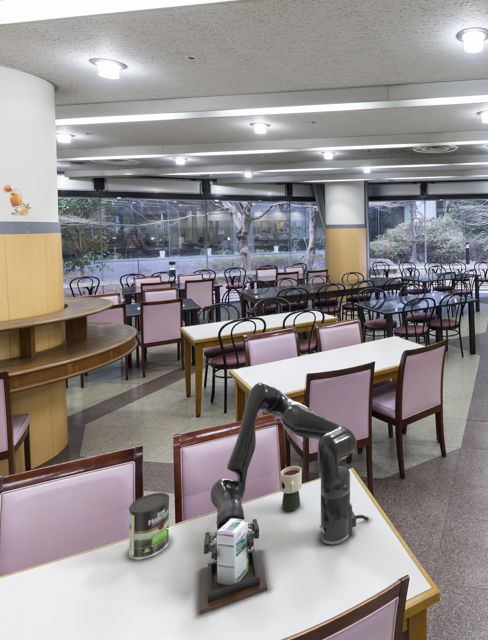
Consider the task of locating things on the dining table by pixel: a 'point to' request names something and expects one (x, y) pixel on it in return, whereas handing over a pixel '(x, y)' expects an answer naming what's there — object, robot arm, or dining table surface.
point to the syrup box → (232, 551)
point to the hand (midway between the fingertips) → (233, 551)
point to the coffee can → (149, 525)
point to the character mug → (291, 487)
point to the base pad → (222, 594)
